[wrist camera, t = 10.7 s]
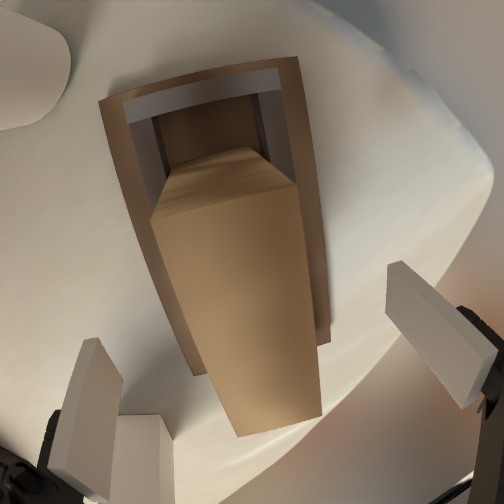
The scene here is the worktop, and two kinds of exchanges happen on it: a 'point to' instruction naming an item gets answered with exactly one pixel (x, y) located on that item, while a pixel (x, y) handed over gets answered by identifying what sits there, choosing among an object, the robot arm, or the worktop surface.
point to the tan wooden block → (243, 285)
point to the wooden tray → (211, 142)
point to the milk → (142, 462)
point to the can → (30, 69)
